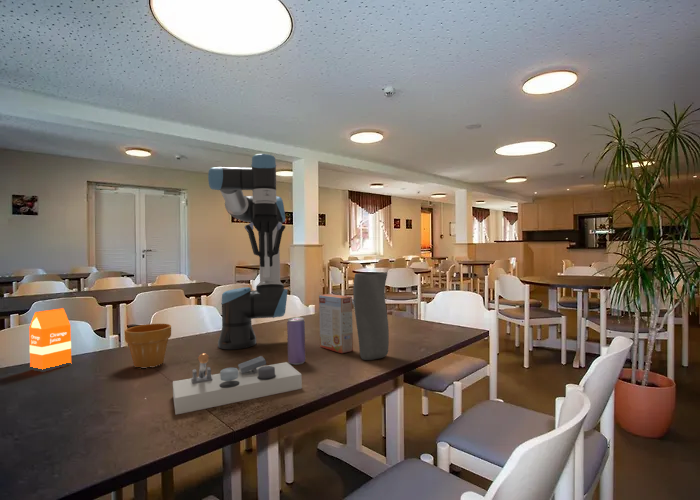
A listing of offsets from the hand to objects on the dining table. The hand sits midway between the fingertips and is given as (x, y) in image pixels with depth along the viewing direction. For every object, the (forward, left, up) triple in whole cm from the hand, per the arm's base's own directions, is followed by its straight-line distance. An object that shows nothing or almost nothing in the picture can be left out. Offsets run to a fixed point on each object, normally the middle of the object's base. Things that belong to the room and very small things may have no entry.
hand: (266, 277), depth 119 cm
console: (+13, -12, -30) cm, 35 cm away
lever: (+10, -21, -25) cm, 34 cm away
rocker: (+10, -7, -25) cm, 28 cm away
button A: (+17, -5, -26) cm, 31 cm away
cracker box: (-12, +30, -31) cm, 45 cm away
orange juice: (-44, -64, -31) cm, 83 cm away
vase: (+5, +36, -31) cm, 47 cm away
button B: (+17, -15, -25) cm, 33 cm away
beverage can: (-4, +11, -31) cm, 33 cm away
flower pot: (-29, -34, -31) cm, 54 cm away
